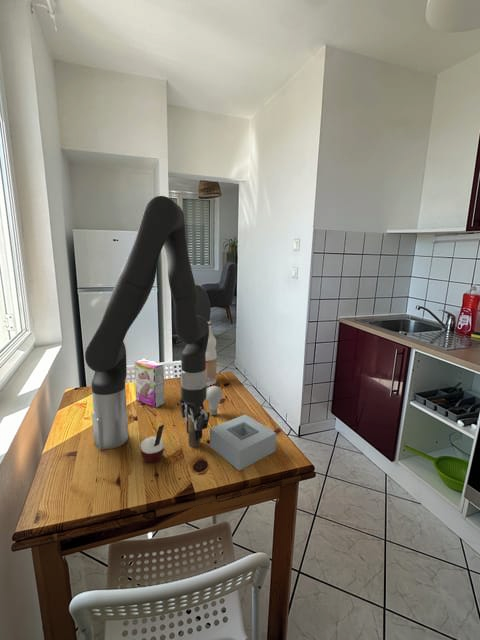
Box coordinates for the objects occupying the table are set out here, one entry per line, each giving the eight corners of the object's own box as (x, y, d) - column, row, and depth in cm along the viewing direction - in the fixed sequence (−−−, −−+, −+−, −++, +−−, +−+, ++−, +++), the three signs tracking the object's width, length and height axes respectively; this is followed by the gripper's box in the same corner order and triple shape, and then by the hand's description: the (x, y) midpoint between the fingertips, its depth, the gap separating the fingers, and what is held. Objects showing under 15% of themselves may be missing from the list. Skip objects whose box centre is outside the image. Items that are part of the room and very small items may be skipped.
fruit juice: (217, 386, 139) (217, 324, 133) (195, 387, 137) (195, 324, 132) (215, 378, 148) (215, 320, 142) (195, 379, 147) (194, 320, 141)
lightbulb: (225, 413, 116) (225, 385, 114) (217, 420, 111) (217, 391, 108) (210, 409, 118) (210, 381, 116) (202, 416, 113) (202, 388, 111)
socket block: (239, 470, 85) (239, 450, 84) (209, 446, 96) (209, 427, 94) (275, 451, 94) (276, 432, 93) (244, 430, 104) (245, 413, 103)
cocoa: (139, 454, 92) (136, 415, 90) (161, 448, 95) (158, 410, 93) (145, 472, 84) (141, 431, 81) (168, 465, 86) (165, 425, 84)
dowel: (192, 448, 94) (192, 418, 92) (186, 443, 97) (186, 413, 95) (202, 444, 97) (202, 414, 95) (196, 439, 99) (195, 410, 97)
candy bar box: (135, 401, 124) (133, 361, 120) (145, 396, 128) (143, 357, 125) (155, 408, 118) (154, 367, 115) (165, 403, 122) (164, 363, 119)
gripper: (170, 378, 96) (172, 430, 99) (195, 395, 85) (196, 452, 89) (192, 373, 100) (192, 422, 104) (218, 388, 90) (217, 442, 93)
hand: (194, 435), depth 96 cm, fingers open, 4 cm apart
